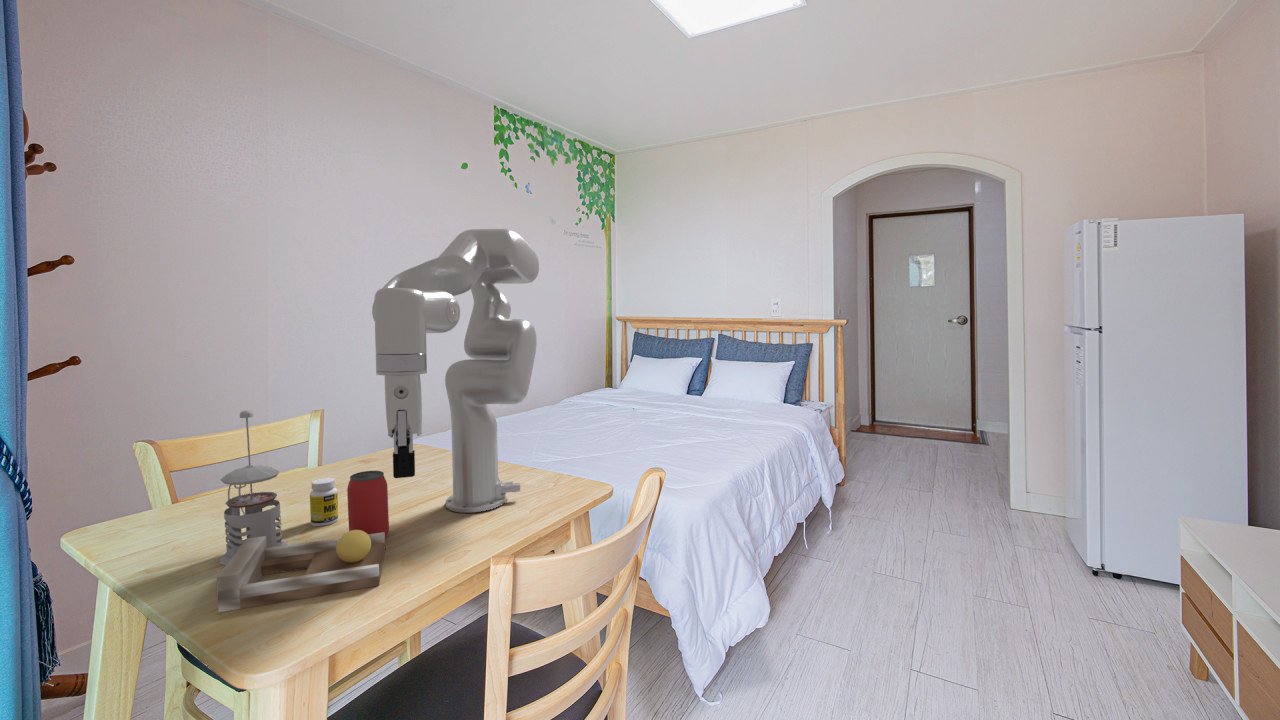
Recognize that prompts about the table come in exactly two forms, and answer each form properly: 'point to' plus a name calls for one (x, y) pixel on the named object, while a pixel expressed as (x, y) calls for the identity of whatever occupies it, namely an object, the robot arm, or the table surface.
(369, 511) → the beer can
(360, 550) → the ball
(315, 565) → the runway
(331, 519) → the supplement bottle
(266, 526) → the french press
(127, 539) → the table surface
